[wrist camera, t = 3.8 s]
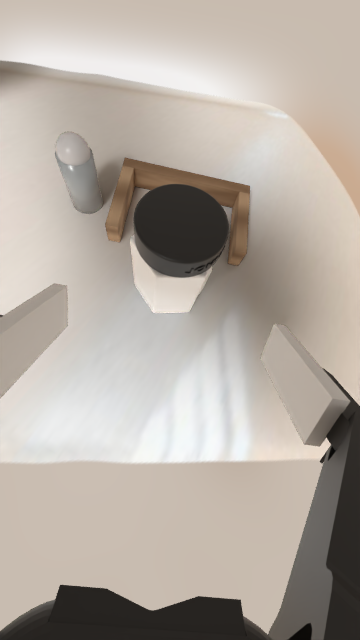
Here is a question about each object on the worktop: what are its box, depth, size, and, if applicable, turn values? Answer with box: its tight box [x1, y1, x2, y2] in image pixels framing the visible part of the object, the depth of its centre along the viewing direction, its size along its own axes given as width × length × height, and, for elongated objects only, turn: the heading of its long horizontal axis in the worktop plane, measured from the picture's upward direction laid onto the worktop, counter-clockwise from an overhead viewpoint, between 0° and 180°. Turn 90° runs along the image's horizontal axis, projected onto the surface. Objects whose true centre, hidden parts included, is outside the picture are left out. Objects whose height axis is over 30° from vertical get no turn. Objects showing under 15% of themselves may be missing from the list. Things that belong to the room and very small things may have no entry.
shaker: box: [55, 132, 103, 214], centre depth 29 cm, size 4×4×9 cm
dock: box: [105, 158, 250, 265], centre depth 33 cm, size 12×18×3 cm, turn 82°
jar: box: [130, 184, 229, 313], centre depth 26 cm, size 9×8×12 cm
